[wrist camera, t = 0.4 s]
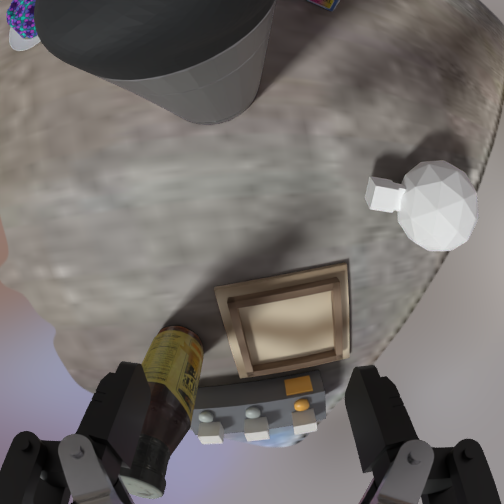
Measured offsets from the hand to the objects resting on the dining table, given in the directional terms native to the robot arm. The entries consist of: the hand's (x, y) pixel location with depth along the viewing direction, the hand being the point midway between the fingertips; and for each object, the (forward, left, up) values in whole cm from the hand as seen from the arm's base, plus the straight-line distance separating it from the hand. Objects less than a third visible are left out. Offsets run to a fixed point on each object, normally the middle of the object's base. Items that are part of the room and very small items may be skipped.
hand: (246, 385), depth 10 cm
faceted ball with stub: (-2, +18, -20) cm, 27 cm away
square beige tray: (+11, +3, -19) cm, 23 cm away
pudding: (-36, -20, -20) cm, 46 cm away
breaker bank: (+22, -3, -20) cm, 30 cm away
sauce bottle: (+11, -10, -20) cm, 25 cm away
